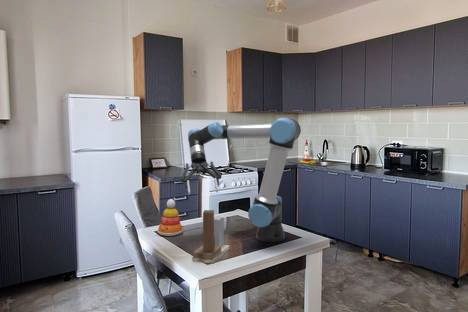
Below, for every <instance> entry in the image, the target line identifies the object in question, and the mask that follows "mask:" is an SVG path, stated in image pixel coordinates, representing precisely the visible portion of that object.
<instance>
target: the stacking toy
mask: <svg viewBox="0 0 468 312" xmlns="http://www.w3.org/2000/svg"><path fill="white" fill-rule="evenodd" d="M175 206H176V202H175V200H174V199H173V198H170V199H168V200H167V201H166V208H165V209H164V211H163V213H162V216H161V219H160V223H159V225H158V228H157V230H156V231H157V233H158V234H159V235H160V236H161V235H162V236H165V237H166V236H168V237H173V236H177V235H180V234H182V233H183V232H184V228H183V226H182V223H181V218H180V216H179V212H178V209H176V208H175Z"/></svg>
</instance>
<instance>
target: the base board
mask: <svg viewBox="0 0 468 312" xmlns="http://www.w3.org/2000/svg"><path fill="white" fill-rule="evenodd" d="M230 249H231V246H230V245H229V244H224V245H223V246H222V247H220V246H215V247H214V252H203V244H202V245H201V246H200V247H198V248H197V249H196V250H194V251H193V252H192V257H191V261H192V262H197V263H204V264H205V263H206V264H211V265H213V264H214V263H216V262H217V261H218V260H219V259H221V257H222V256H223V255H225V254H226V253H227V251H229V250H230Z"/></svg>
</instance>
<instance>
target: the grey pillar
mask: <svg viewBox="0 0 468 312" xmlns="http://www.w3.org/2000/svg"><path fill="white" fill-rule="evenodd" d="M224 220H225V219H224V216H220V215H219V216H217V215H215V216H214V237H215V246H220V247H222V246H223V245H225V244H224V243H225V242H224V238H225V237H224V234H225V233H224V230H225V229H224V227H225V226H224Z"/></svg>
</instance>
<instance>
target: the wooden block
mask: <svg viewBox="0 0 468 312" xmlns="http://www.w3.org/2000/svg"><path fill="white" fill-rule="evenodd" d="M214 217H215V210H214V209H211V210H210V209H209V210H208V209H205V210H204V211H203V212H202V233H203V234H202V243H203V244H202V245H203V252H214V247H215V237H214Z"/></svg>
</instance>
